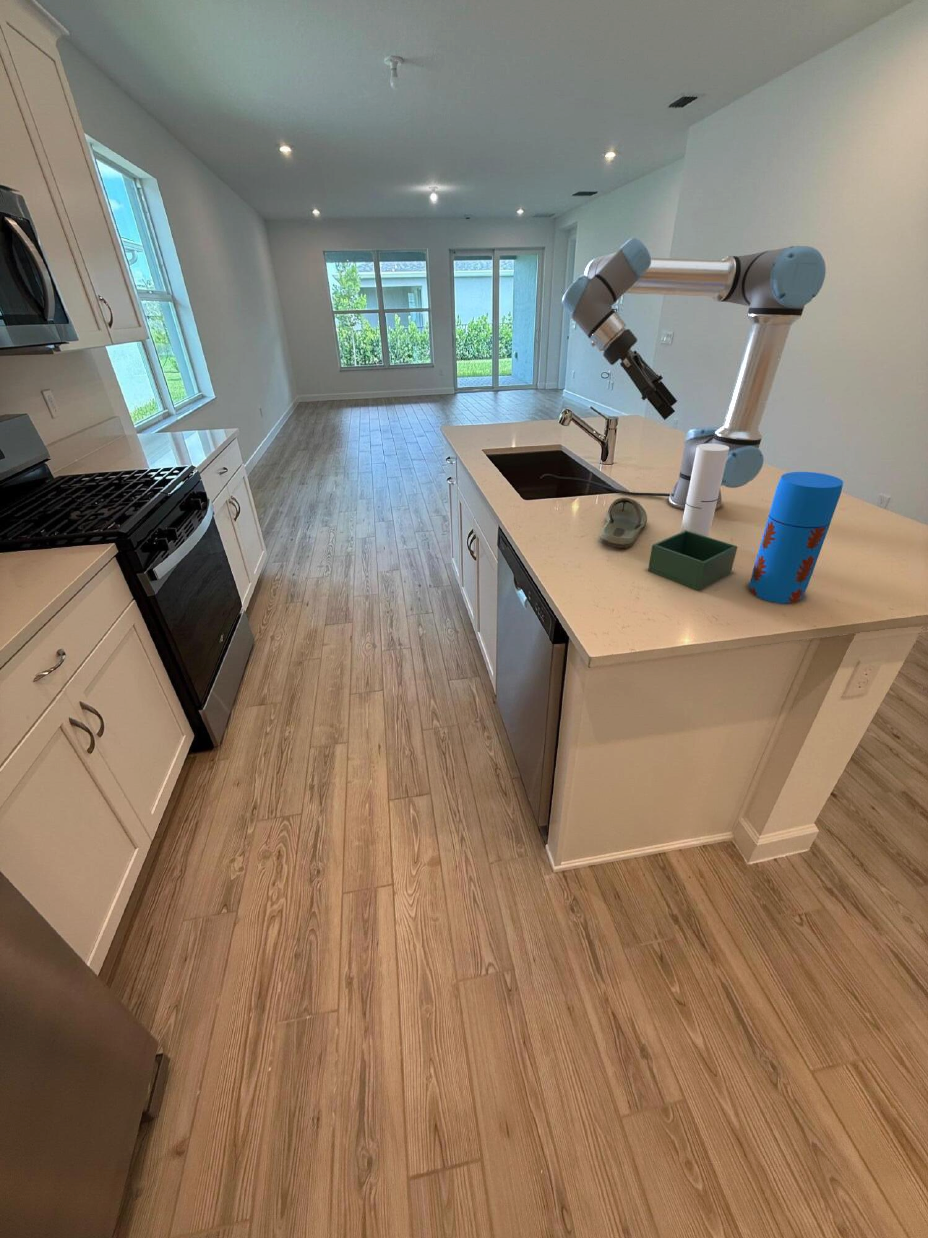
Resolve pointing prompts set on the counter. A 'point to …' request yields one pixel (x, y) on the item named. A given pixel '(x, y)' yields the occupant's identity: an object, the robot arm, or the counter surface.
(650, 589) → the counter surface
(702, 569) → the tray
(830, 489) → the thermos
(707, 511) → the cylindrical container
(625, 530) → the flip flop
